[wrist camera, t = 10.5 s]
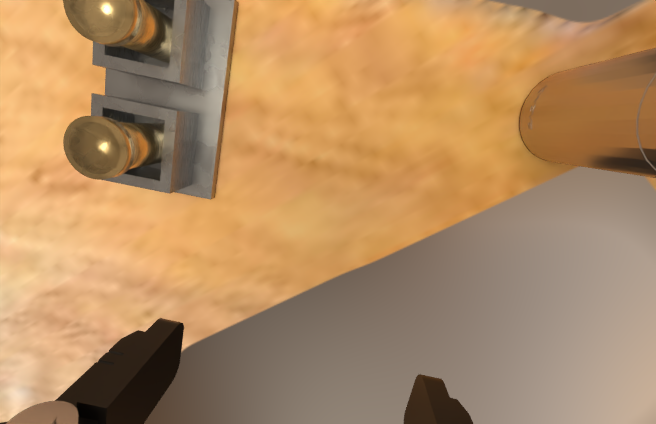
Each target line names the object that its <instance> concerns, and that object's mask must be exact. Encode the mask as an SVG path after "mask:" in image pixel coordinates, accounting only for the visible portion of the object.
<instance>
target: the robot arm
mask: <svg viewBox="0 0 656 424" xmlns="http://www.w3.org/2000/svg"><path fill="white" fill-rule="evenodd" d="M520 132H521V137H522V139H523V141H524V143H525V145H526V146H527V148H528V149H529V150H530V151H531V152H532V153H533V154H534V155H536V156H537V157H539V158H541V159H543V160H546V161H551V162H557V163H564V164H570V165H576V166H582V167H588V168H595V169H602V170H608V171H614V172H621V173H627V174H634V175H640V176H647V177H653V178H656V48H653V49H649V50H645V51H641V52H637V53H633V54H629V55H625V56H621V57H618V58H614V59H610V60H606V61H602V62H598V63H594V64H589V65H585V66H581V67H578V68H574V69H570V70H566V71H562V72H558V73H556V74H553V75H551V76H549V77H547V78H546V79H544V80H543V81H542V82H540V83H539V84H538V85H537V86H536V87H535V88H534V89H533V90H532V91H531V93H530V94H529V96H528V97H527V99H526V101H525V103H524V105H523V107H522V111H521V115H520ZM183 330H184V325H183V323H180V322H176V321H171V320H166V319H162V318H160V319H158V320H157V321H156V322H155V323H154V324H153V325H152V326H151V327H150V328H149V329H148V330H147V331H146V332H143V331H136V332H134V333H132V334H130V335H128V336H126V337H124V338H122V339H121V340H119V341H118V342H117V343H116V344H115V345H114V346H113V347H112V348H111V349H110V350H109V352H108V353H106V354H105V355H103V356H102V357H101V358H100V359H99V361H98V363H97V362H96V363H95V364H94V365H93V366H92V367H91V368H90V369H89V370H87V371H86V372H85V373H84V374H83V375H82V376H81V377H80V378H79V379H78V380H77V381H76V382H75V383H74V384H72V385H71V386H70V387H69V388H68V389H67V390H66V391H65V392H64V393H63V394H62V395H61V396H60V397H59V398H58V399H56V400H55V401H49V402H44V403H40V404H37V405H34V406H32V407H29V408H27V409H25V410H23V411H22V412H20V413H18V414H17V415H16V416H14V417H13V418H12V419H11V420H9V421H8V422H4V423H0V424H144V422H145V421H146V420H147V418H148V416H149V415H150V414H151V412H152V411H153V409H154V408H155V406H156V405H157V403H158V402H159V401H160V399H161V398H162V396H163V395H164V393H165V392H166V390H167V389H168V387H169V386H170V384H171V383H172V381H173V380H174V378H175V375H176V373H177V370H178V368H179V364H180V357H181V348H182V339H183ZM404 424H473V422H472V420H471V417H470V415H469V413H468V412H467V411H466V410H465V409H464V407H463V406H462V405H461V404H460V402H459V401H458V400H457V399H453V398H450V397H449V395H448V392H447V389H446V387H445V384H444V382H443V380H442V379H439V378H434V377H429V376H425V375H418V376H417V377H416V380H415V383H414V386H413V389H412V392H411V395H410V398H409V401H408V404H407V407H406V410H405V415H404Z"/></svg>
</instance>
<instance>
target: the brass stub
mask: <svg viewBox="0 0 656 424" xmlns="http://www.w3.org/2000/svg"><path fill="white" fill-rule="evenodd" d="M164 126H165V124H160V123H125V122H117V121H115V120H113V119H111V118H108V117H101V116H84V117H80V118H78V119H76V120H74V121H73V122H72V123H71V124H70V125H69V126H68V128H67V130H66V132H65V135H64V150H65V154H66V156H67V158H68V160H69V162H70V163H71V165H72V166H73V167H74V168H75V169H76V170H77V171H78V172H80V173H81V174H83V175H85V176H87V177H89V178H92V179H108V178H112V177H117V176H120V175H122V174H124V173H125V172H126V171H128V169H132V168H137V167H142V166H147V165H152V164H157V163H162V151H163V139H164Z"/></svg>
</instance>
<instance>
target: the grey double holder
mask: <svg viewBox="0 0 656 424" xmlns="http://www.w3.org/2000/svg"><path fill="white" fill-rule="evenodd" d="M63 3H64V8H65V12H66V15H67V17H68V19H69V21H70V23H71V24H72V26H73V27H74V28H75V29H76V30H77V31H78V32H79V33H80V34H81V35H82V36H84V37H86V38H87V39H89V40H92V41H93V65H96V66H100V67H104V68H106V79H105V95H100V94H94V93H92V102H91V116H101V117H108V118H111V119H113V120H115V121H117V122H125V123H160V124H165V126H164V139H163V151H162V163H157V164H152V165H147V166H142V167H137V168H132V169H128V171H126V172H125V173H124V174H122V175H120V176H117V177H112V178H108V179H101V180H106V181H111V182H116V183H121V184H126V185H131V186H135V187H140V188H145V189H150V190H155V191H160V192H165V193H172V192H177V193H182V194H187V195H191V196H196V197H201V198H206V199H212V198H214V197H215V190H216V181H217V173H218V165H219V157H220V149H221V141H222V133H223V124H224V116H225V108H226V100H227V92H228V84H229V75H230V67H231V59H232V51H233V43H234V35H235V27H236V18H237V10H238V2H237V1H236V0H63Z"/></svg>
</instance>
